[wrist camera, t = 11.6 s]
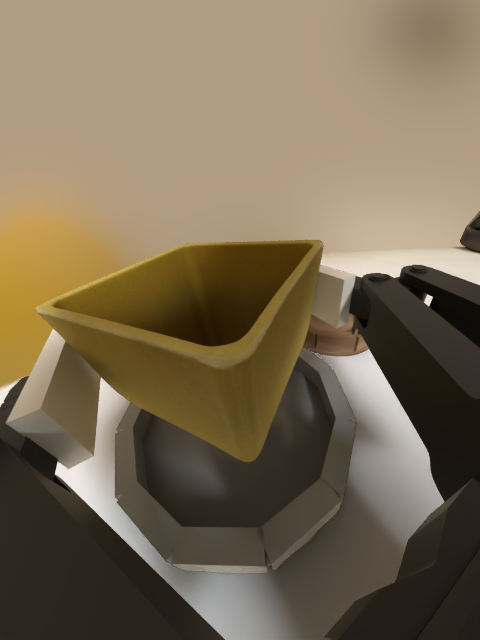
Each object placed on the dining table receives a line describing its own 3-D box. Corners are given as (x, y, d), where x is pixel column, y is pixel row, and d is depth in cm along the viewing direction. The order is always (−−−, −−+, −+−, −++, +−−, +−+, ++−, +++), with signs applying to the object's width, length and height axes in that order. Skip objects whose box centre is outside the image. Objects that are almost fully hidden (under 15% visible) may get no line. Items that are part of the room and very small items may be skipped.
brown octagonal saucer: (328, 303, 25) (330, 287, 24) (394, 333, 19) (400, 314, 18) (277, 326, 23) (276, 310, 21) (334, 369, 17) (337, 350, 16)
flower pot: (213, 344, 19) (184, 240, 14) (315, 369, 15) (326, 236, 10) (133, 436, 12) (27, 306, 7) (271, 524, 8) (239, 370, 3)
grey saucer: (263, 331, 22) (262, 315, 21) (404, 452, 11) (417, 432, 10) (126, 394, 18) (115, 377, 17) (144, 693, 7) (114, 706, 6)
